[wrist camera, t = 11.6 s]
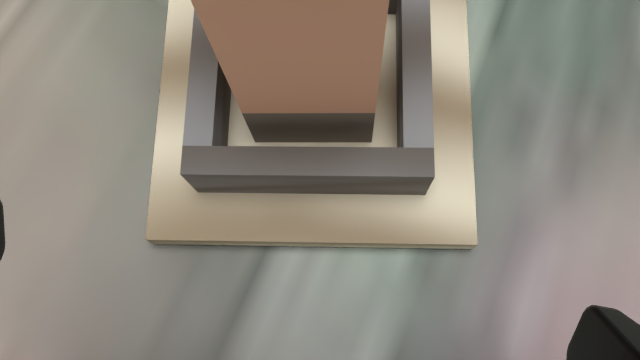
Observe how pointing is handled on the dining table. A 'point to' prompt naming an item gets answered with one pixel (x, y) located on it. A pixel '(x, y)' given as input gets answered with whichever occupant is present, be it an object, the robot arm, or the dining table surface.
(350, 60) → the brown rectangular block
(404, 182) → the square socket base
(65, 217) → the dining table surface
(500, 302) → the dining table surface
